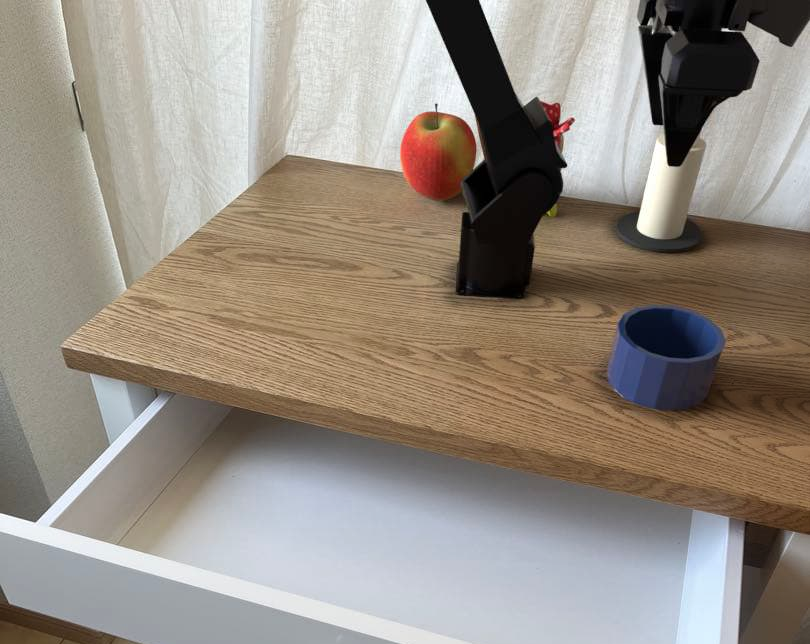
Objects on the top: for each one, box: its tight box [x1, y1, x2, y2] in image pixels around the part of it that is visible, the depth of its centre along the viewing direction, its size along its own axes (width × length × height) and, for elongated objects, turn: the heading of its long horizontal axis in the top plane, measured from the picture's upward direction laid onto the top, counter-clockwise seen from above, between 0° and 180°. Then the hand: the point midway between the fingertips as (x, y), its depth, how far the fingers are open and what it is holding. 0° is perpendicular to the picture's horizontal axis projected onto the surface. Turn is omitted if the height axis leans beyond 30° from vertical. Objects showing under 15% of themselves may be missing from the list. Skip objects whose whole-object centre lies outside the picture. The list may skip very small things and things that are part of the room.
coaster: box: [615, 210, 703, 254], centre depth 88 cm, size 9×9×1 cm
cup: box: [606, 304, 727, 411], centre depth 67 cm, size 8×8×5 cm
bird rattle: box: [540, 100, 576, 218], centre depth 89 cm, size 6×11×9 cm
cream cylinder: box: [637, 129, 707, 240], centre depth 84 cm, size 5×5×12 cm
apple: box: [399, 102, 478, 201], centre depth 90 cm, size 8×8×10 cm
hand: (665, 144), depth 72 cm, fingers open, 9 cm apart
